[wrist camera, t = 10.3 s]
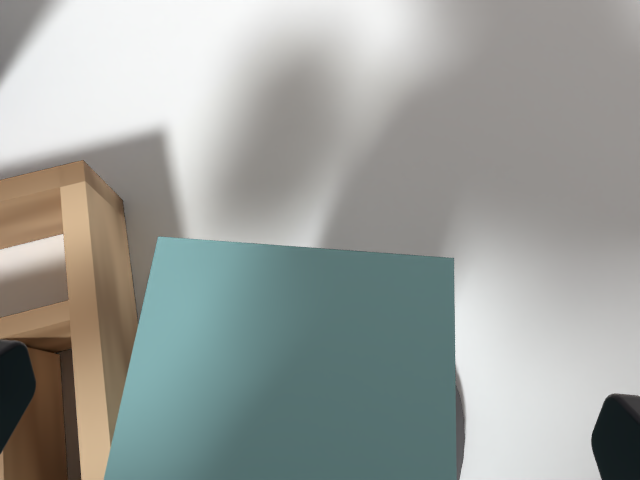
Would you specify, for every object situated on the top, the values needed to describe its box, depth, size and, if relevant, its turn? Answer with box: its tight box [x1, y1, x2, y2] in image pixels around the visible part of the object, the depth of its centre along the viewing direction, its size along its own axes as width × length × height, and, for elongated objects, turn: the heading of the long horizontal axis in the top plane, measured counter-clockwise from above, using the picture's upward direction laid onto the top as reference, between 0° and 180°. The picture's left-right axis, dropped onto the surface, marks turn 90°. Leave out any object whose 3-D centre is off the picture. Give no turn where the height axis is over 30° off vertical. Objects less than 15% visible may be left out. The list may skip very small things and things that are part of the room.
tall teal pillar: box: [104, 237, 457, 480], centre depth 10 cm, size 4×4×10 cm
